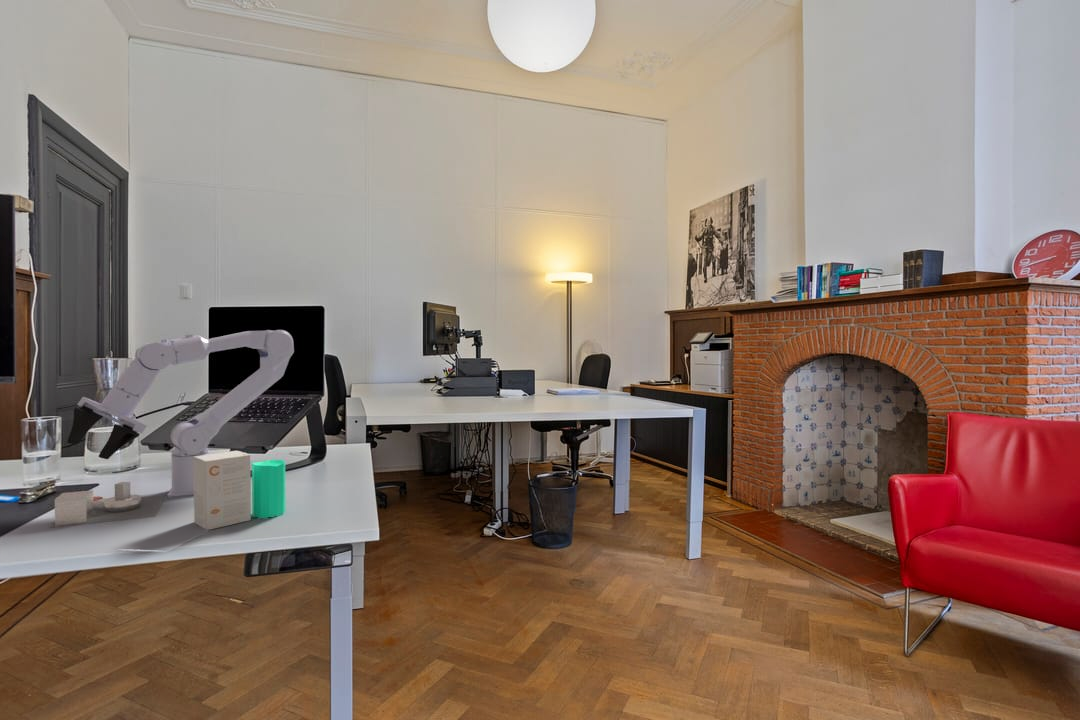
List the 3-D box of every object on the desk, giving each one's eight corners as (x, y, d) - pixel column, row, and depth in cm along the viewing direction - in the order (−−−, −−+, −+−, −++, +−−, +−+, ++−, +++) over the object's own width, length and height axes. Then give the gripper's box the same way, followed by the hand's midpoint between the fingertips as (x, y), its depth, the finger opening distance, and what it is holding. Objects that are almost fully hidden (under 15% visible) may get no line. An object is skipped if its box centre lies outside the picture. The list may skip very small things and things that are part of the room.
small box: (238, 513, 111) (237, 449, 110) (251, 520, 106) (251, 454, 106) (192, 523, 104) (192, 455, 104) (205, 531, 100) (204, 460, 100)
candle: (252, 520, 107) (252, 459, 106) (252, 511, 112) (252, 453, 112) (285, 516, 110) (285, 456, 109) (284, 507, 115) (284, 451, 114)
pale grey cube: (93, 515, 107) (93, 490, 107) (86, 522, 103) (86, 496, 103) (63, 518, 105) (62, 492, 105) (55, 526, 101) (54, 499, 101)
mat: (167, 496, 121) (167, 495, 121) (154, 517, 107) (154, 516, 107) (75, 505, 114) (75, 504, 114) (48, 529, 100) (48, 527, 100)
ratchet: (148, 504, 115) (147, 479, 115) (124, 513, 109) (124, 487, 109) (89, 502, 115) (88, 478, 115) (62, 511, 109) (62, 485, 109)
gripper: (85, 374, 114) (41, 433, 110) (145, 400, 113) (103, 461, 109) (109, 383, 121) (68, 439, 117) (165, 408, 120) (127, 466, 116)
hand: (87, 450), depth 113 cm, fingers open, 7 cm apart
